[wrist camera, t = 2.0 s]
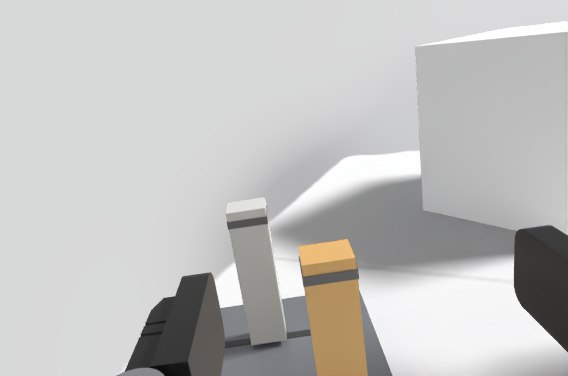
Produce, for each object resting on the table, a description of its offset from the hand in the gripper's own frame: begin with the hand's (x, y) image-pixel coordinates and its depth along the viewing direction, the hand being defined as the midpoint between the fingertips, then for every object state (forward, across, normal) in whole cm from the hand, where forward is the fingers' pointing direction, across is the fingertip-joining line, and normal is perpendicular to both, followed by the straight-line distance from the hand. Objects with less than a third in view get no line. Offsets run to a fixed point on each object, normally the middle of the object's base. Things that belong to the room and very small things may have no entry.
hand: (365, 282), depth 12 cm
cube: (+52, -35, +21) cm, 66 cm away
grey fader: (+23, +5, +17) cm, 29 cm away
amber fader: (+13, 0, +17) cm, 22 cm away
